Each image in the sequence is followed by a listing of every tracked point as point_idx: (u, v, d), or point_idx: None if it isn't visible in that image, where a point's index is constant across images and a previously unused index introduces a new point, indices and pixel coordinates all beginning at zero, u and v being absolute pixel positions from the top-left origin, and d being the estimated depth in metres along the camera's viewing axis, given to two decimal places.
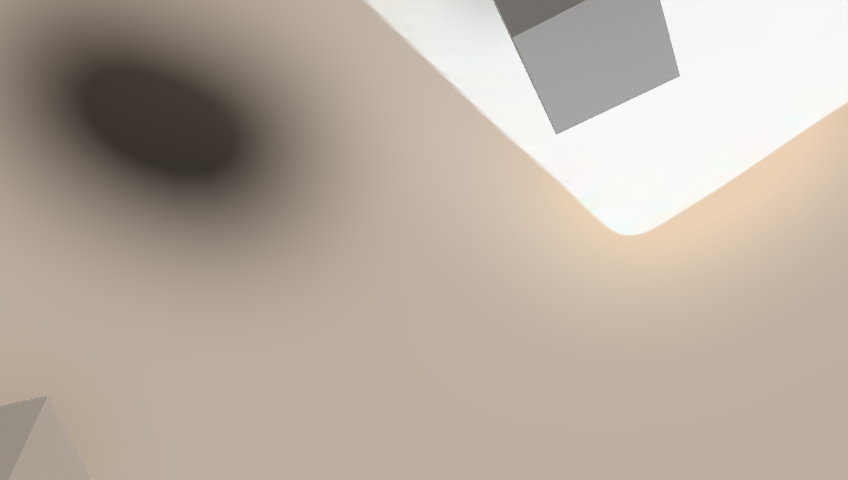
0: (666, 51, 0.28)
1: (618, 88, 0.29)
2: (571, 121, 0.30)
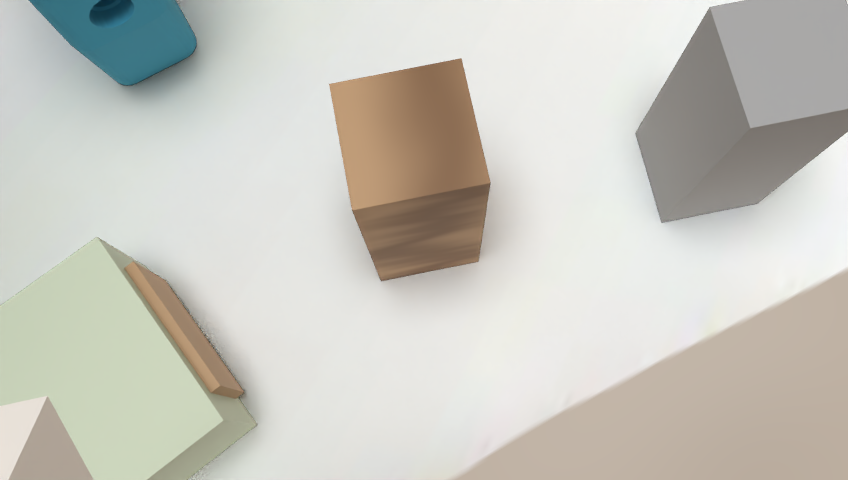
0: None
1: (839, 37, 0.28)
2: None
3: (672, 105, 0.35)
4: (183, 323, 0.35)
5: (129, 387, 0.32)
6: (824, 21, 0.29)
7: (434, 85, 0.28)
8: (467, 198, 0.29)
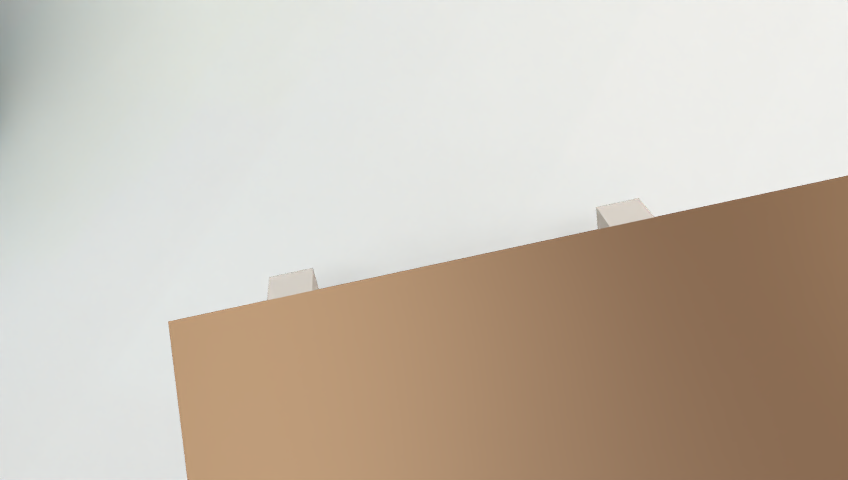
0: None
1: None
2: None
3: None
4: None
5: None
6: None
7: (746, 327, 0.05)
8: None
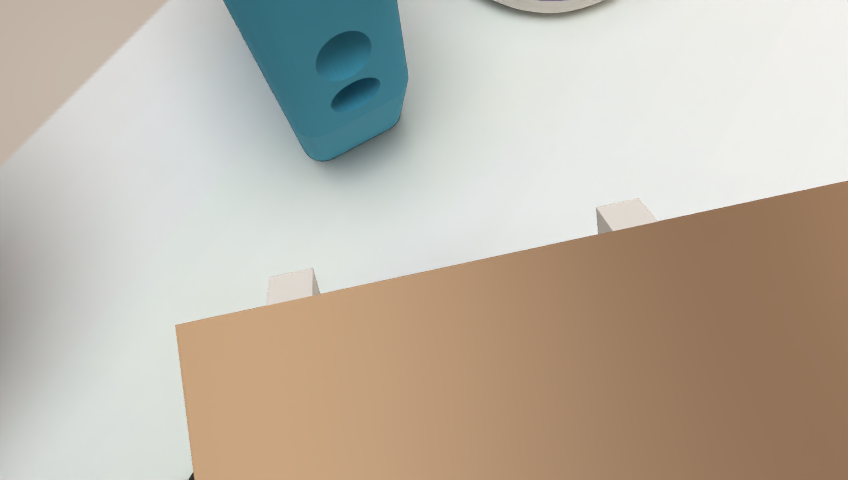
0: None
1: None
2: None
3: None
4: None
5: None
6: None
7: (753, 331, 0.05)
8: None
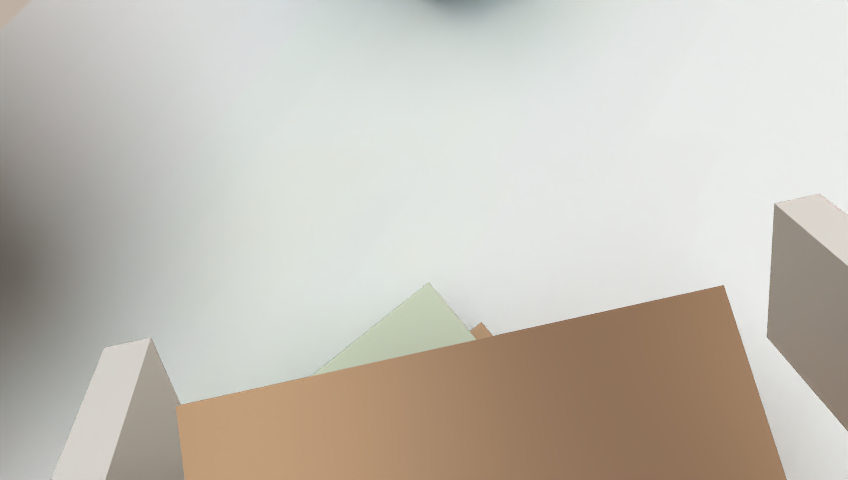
0: None
1: None
2: None
3: None
4: None
5: None
6: None
7: (620, 411, 0.07)
8: None
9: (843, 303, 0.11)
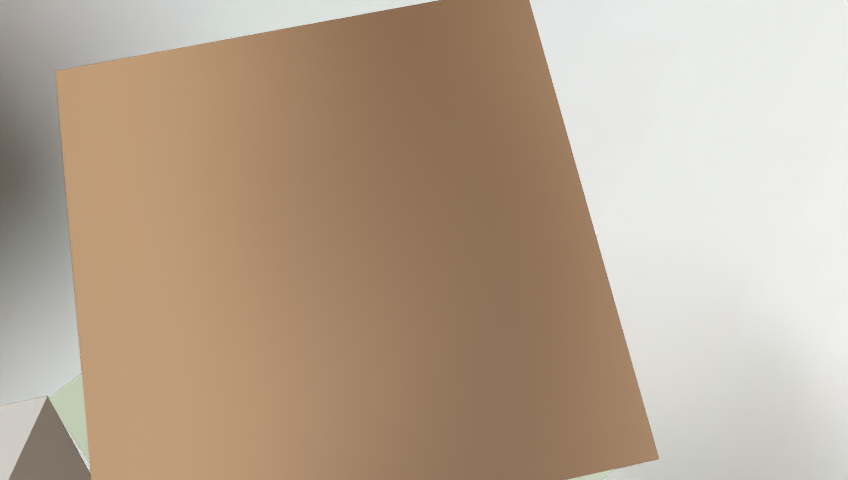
0: None
1: None
2: None
3: None
4: None
5: None
6: None
7: (432, 77, 0.08)
8: None
9: None
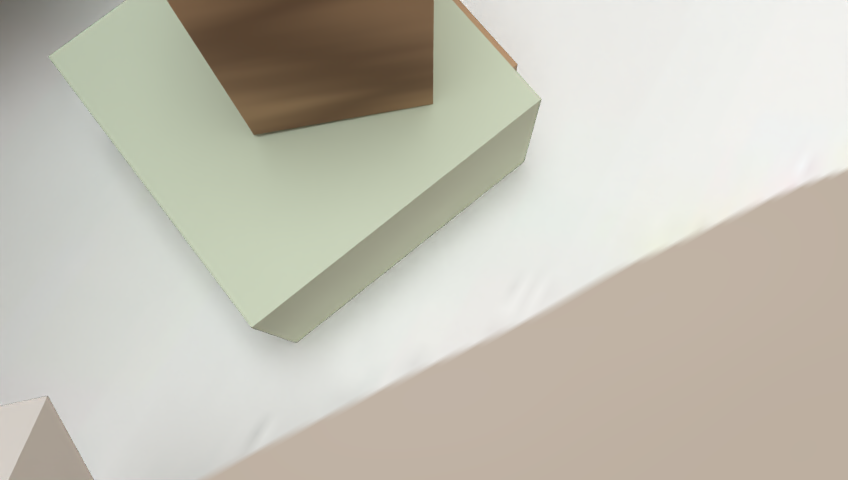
0: None
1: None
2: None
3: None
4: None
5: None
6: None
7: None
8: None
9: None
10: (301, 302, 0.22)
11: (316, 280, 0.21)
